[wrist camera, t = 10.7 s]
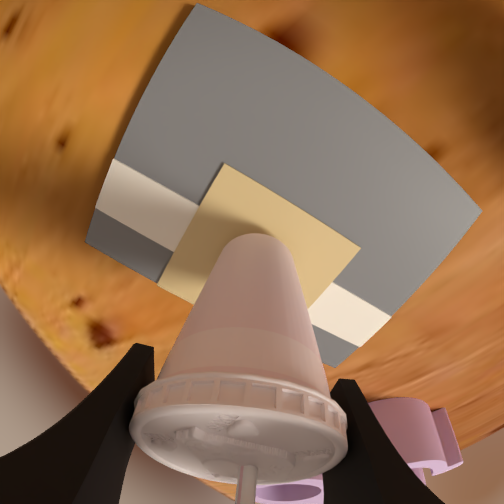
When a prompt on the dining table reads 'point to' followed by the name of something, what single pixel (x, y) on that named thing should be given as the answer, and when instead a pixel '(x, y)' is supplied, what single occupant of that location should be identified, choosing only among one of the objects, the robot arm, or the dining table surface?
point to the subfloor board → (276, 182)
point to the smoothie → (244, 380)
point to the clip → (404, 440)
